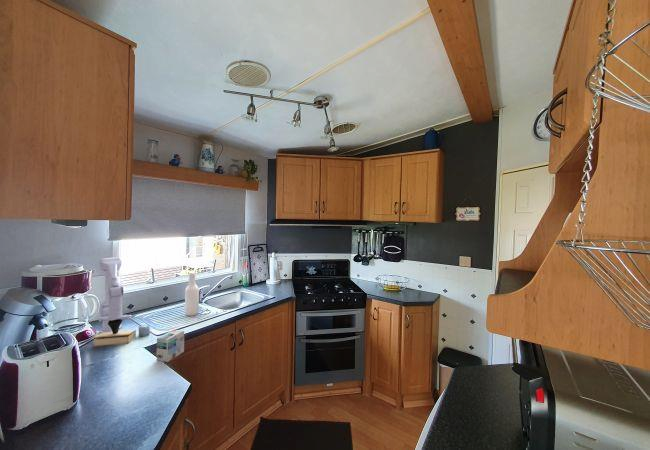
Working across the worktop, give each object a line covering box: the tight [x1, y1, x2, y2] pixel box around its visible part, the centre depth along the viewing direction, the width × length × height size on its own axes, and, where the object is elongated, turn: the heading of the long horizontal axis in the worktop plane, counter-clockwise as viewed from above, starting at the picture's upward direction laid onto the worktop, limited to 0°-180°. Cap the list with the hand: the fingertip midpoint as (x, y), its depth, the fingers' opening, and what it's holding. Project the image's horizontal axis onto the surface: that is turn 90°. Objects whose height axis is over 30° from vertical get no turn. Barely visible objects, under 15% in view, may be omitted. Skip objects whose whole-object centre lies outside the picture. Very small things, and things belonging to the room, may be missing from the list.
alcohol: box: [184, 271, 200, 317], centre depth 181 cm, size 9×9×30 cm
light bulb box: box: [156, 329, 185, 363], centre depth 124 cm, size 11×7×11 cm, turn 168°
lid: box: [93, 329, 137, 339], centre depth 139 cm, size 8×16×1 cm, turn 103°
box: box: [92, 330, 137, 347], centre depth 139 cm, size 8×16×4 cm, turn 103°
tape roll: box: [138, 324, 151, 338], centre depth 147 cm, size 5×5×5 cm
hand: (115, 333), depth 139 cm, fingers closed, pressing on lid
